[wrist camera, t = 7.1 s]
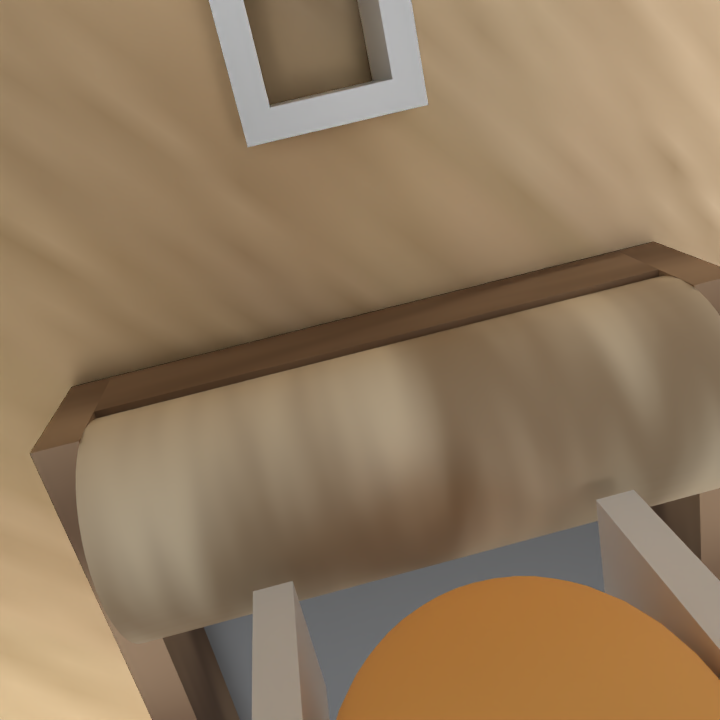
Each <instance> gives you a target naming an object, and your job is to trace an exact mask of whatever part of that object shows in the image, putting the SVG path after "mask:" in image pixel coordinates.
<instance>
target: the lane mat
mask: <svg viewBox="0 0 720 720" xmlns="http://www.w3.org/2000/svg"><path fill="white" fill-rule="evenodd" d="M512 576H538V577H546V578H554V579H560V580H565V581H570V582H574V583H578V584H582V585H586V586H589V587H592V588H594V589H596V590H599V591H601V592H604V593H605V590H604V579H603V569H602V558H601V548H600V537H599V527H598V521H596V522H592V523H588V524H584V525H581V526H577V527H573V528H570V529H566V530H562V531H558V532H555V533H551V534H547V535H544V536H540V537H536V538H532V539H529V540H525V541H521V542H518V543H514V544H510V545H506V546H503V547H499V548H495V549H492V550H488V551H484V552H480V553H477V554H473V555H469V556H466V557H462V558H458V559H454V560H451V561H447V562H443V563H440V564H436V565H432V566H428V567H425V568H421V569H417V570H414V571H410V572H406V573H402V574H399V575H395V576H391V577H387V578H384V579H380V580H376V581H373V582H369V583H365V584H361V585H358V586H354V587H350V588H347V589H343V590H339V591H335V592H332V593H328V594H324V595H321V596H317V597H313V598H309V599H306V600H302V601H299V603H300V606H301V609H302V612H303V615H304V619H305V622H306V625H307V628H308V631H309V634H310V638H311V641H312V644H313V647H314V650H315V653H316V657H317V660H318V663H319V666H320V669H321V672H322V676H323V679H324V682H325V685H326V692H327V700H328V709H329V718H330V720H336V719H337V715H338V712H339V709H340V707H341V705H342V703H343V701H344V699H345V697H346V695H347V692H348V690H349V688H350V686H351V684H352V682H353V680H354V678H355V676H356V674H357V673H358V671H359V670H360V668H361V667H362V665H363V664H364V662H365V661H366V659H367V658H368V656H369V655H370V654H371V652H372V651H373V650H374V649H375V647H376V646H377V645H378V644H379V643H380V641H381V640H382V639H383V638H384V637H385V636H386V634H387V633H388V632H389V631H390V630H392V629H393V628H394V627H395V626H396V625H397V624H398V623H399V622H400V621H401V620H403V619H404V618H405V617H407V616H408V615H409V614H411V613H412V612H414V611H415V610H416V609H418V608H419V607H421V606H422V605H424V604H426V603H427V602H429V601H431V600H433V599H434V598H436V597H438V596H440V595H442V594H444V593H446V592H449V591H451V590H453V589H455V588H458V587H462V586H465V585H468V584H471V583H475V582H479V581H484V580H488V579H494V578H502V577H512ZM204 629H205V632H206V634H207V637H208V640H209V642H210V645H211V647H212V650H213V652H214V655H215V657H216V660H217V663H218V665H219V668H220V670H221V673H222V675H223V678H224V680H225V683H226V686H227V688H228V691H229V693H230V696H231V698H232V701H233V703H234V706H235V709H236V711H237V714H238V716H239V719H240V720H252V638H253V614H250V615H246V616H243V617H239V618H235V619H231V620H228V621H224V622H220V623H217V624H213V625H209V626H205V627H204Z"/></svg>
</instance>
